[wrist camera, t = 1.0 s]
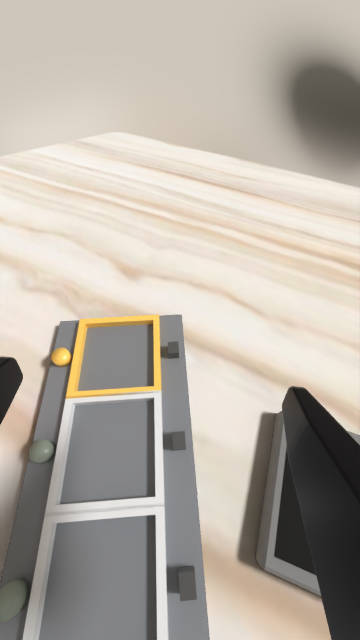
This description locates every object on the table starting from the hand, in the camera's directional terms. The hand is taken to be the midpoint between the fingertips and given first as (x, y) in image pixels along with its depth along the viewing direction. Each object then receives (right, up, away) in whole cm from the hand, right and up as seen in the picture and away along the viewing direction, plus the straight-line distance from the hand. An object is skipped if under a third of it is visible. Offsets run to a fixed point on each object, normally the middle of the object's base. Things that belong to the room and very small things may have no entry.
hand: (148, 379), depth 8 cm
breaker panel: (-4, -9, +13) cm, 16 cm away
